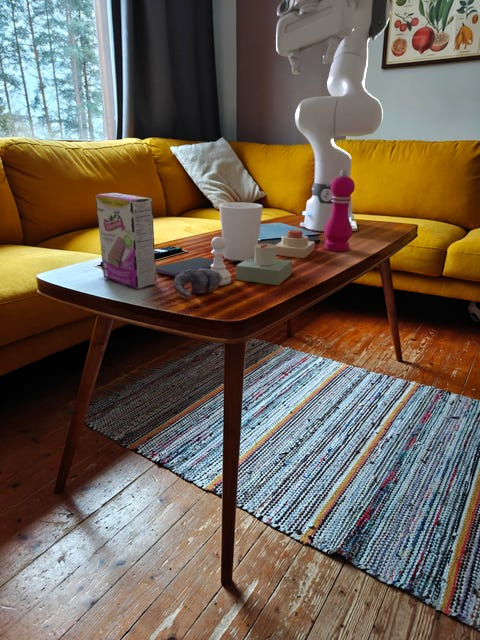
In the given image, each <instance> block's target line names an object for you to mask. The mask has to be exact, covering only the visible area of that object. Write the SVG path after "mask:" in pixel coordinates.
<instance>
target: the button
mask: <svg viewBox="0 0 480 640" xmlns="http://www.w3.org/2000/svg"><path fill="white" fill-rule="evenodd" d="M303 233H304V232H303V231H302V230H299V229H290V230H288V231H287V234H288V238H302V235H303Z"/></svg>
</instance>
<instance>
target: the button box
mask: <svg viewBox="0 0 480 640" xmlns="http://www.w3.org/2000/svg"><path fill="white" fill-rule="evenodd" d="M275 245H276V246H277V247H276V256H280V257H289V258H298V259H305V258H306V257H308V256H309V255H310V254H311V253H312V252H313V251H315V245H316V242H315V241H311V240H309V237H308V236H307V235H304V234H302V238H288V233H287V234H283V235H281V241H280V242H278V243H276V244H275Z"/></svg>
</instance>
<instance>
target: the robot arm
mask: <svg viewBox="0 0 480 640" xmlns="http://www.w3.org/2000/svg"><path fill="white" fill-rule="evenodd" d="M391 13H392V4H391V0H282V1H281V2H280V3H279V5H278V6H277V9H276V14H277V15H276V16H278V17H280V18H279V19H278V21H277V24H276V32H275V33H276V34H275V37H276V39H275V46H276V47H275V49H276V52H277V54H278V55H279V56H281V57H285V58H288V60H289V62H290V65H291V73H292V75H299V74H301V73H302V72H303V64H301V63H299V60H298V59H300V54H301V53H304V52H307V51H310V50H312V49H315V48H318V47H320V46H323V45H326V44H328V46H327V49H326V52H325V53H324V54H323V55H322V63H323V64H324V65H330V69H329V73H328V78H327V82H326V84H327V85H326V86H327V87H326V88H327V90H328V91H327V92H328V93H329V94H330V95H327V96H326V95H324V96H323V95H321V96H319V95H318V96H312V97H308V98H303V99H302V100H301V101H300V103H298V106H297V107H296V110H295V112H294V122H295V126H296V128H297V130H298V131H299V132H300V133H301V134H302V135H303V136H304V137H305V138H306V140H307V141H308V142H309V144H310V146H311V149H312V151H313V155H314V156H313V157H314V180H313V181H314V182H313V183H312V186H311V195H312V196H311V197H310V198H309V199H308V200H307V201H306V205H305V210H304V211H302V216H304V221H302V222H300V223H299V227H302V228H306V229H308V230H311V231H316V232H317V231H318V232H324V230H325V227H326V224H327V222H328V221H329V219H330V217H331V214H332V210H333V202H332V201H331V200H332V196H333V193H332V192H331V189H330V187H331V183H332V181H333V180H334V179H335V178H337V177H340V176H341V175H340V172H341V171H342V170H346V171H347V172H348V174H347V177H350V178H351V174H352V164H353V159H352V156H351V155H350V154H349V152H347V151H345V149H343V148H340V147H339V146H338V145H336V143H335V139H334V138H335V137H363V136H368V135H373V134H374V133H375V132H376V131H378V129H379V127H380V125H381V124H382V121H383V117H384V112H383V111H384V110H383V107H382V104H381V102H380V101H379V100H378V98H377V97H374V96H373V95H371V94H370V93H369V92H368V91H367V89H366V88H365V80H366V73H367V69H368V60H369V47H368V46H369V40H371V39H372V42H374V41H376V40H377V37H378V36H379V35H381V34H382V33H383V31H384V30H385V29H386V27H387V26H388V23H389V21H390V17H391ZM340 39H342V40H341V41H340ZM352 202H353V201H351V203H349V208H348V216H349V220H350V223H351V226H352V232H357V231H358V226H357V221H356V220H354V218H355V215H354V214H353V206H354V204H353V203H352Z"/></svg>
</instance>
